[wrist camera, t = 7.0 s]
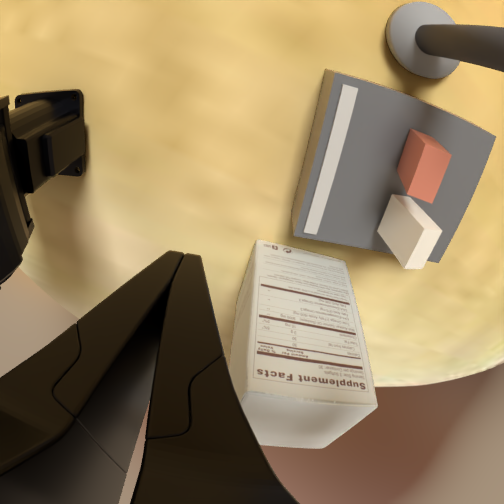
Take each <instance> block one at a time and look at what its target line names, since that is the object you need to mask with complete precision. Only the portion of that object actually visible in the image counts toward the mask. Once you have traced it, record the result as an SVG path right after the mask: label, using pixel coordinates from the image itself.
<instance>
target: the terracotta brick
mask: <svg viewBox="0 0 504 504" xmlns="http://www.w3.org/2000/svg"><path fill="white" fill-rule="evenodd" d="M451 156H452V155H451V154H450V153H449V152H448V151H447V150H446V149H445V148H444V147H443V146H442V145H441V144H440V143H439V142H437V141H436V140H435V139H434V138H433V137H431V136H429V135H426V134H424V133H421V132H419V131H416V130H414V129H411V128H410V131H409V134H408V138H407V141H406V144H405V147H404V150H403V153H402V156H401V159H400V161H399V164H398V167H397V172H398V174H399V177H400V179H401V181H402V184H403V186H404V188H405V191H406V193H407V194H408V195H410V196H413V197H416V198H418V199H421V200H424V201H426V202H429V203H431V204H432V203H433V201H434V198H435V196H436V194H437V191H438V189H439V186H440V184H441V182H442V179H443V177H444V174H445V172H446V169H447V166H448V164H449V161H450V158H451Z"/></svg>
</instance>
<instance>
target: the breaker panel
mask: <svg viewBox="0 0 504 504" xmlns="http://www.w3.org/2000/svg"><path fill="white" fill-rule="evenodd" d="M410 128H411V129H414V130H416V131H419V132H421V133H424V134H426V135H429V136H431V137H433V138H434V139H435V140H436V141H437V142H439V143H440V144H441V145H442V146H443V147H444V148H445V149H446V150H447V151H448V152H449V153H450V154H451V155H452V156H451V158H450V161H449V164H448V166H447V169H446V172H445V174H444V177H443V179H442V182H441V184H440V186H439V189H438V191H437V194H436V196H435V198H434V201H433V203H432V204H431V203H429V202H426V201H424V200H421V199H418V198H416V197H413V196H410V195H408V194H407V193H406V191H405V188H404V186H403V184H402V181H401V179H400V177H399V174H398V172H397V167H398V164H399V161H400V159H401V156H402V153H403V150H404V147H405V144H406V141H407V138H408V134H409V131H410ZM495 138H496V136H494V135H492V134H491V133H489V132H487V131H486V130H484V129H482V128H480V127H479V126H477V125H475V124H473V123H471V122H469V121H467V120H465V119H463V118H461V117H459V116H457V115H455V114H453V113H451V112H448V111H446V110H444V109H442V108H440V107H437V106H435V105H433V104H430V103H428V102H425V101H423V100H421V99H418V98H416V97H413V96H410V95H408V94H405V93H402V92H400V91H397V90H394V89H391V88H389V87H386V86H383V85H380V84H377V83H374V82H370V81H367V80H364V79H361V78H357V77H354V76H351V75H347V74H343V73H340V72H336V71H332V70H328V69H325V74H324V78H323V83H322V87H321V92H320V96H319V101H318V105H317V109H316V114H315V118H314V122H313V126H312V131H311V135H310V139H309V143H308V147H307V151H306V156H305V160H304V164H303V168H302V172H301V176H300V180H299V184H298V188H297V192H296V196H295V200H294V204H293V208H292V224H293V235H294V236H297V237H302V238H308V239H314V240H319V241H325V242H331V243H336V244H342V245H347V246H353V247H358V248H363V249H369V250H374V251H379V252H385V253H390V254H393V252H392V251H391V250H390V248H389V247H388V245H387V244H386V243H385V241H384V240H383V238H382V237H381V236H380V234H379V233H378V232H377V230H378V228H379V225H380V223H381V220H382V218H383V216H384V213H385V211H386V208H387V206H388V203H389V201H390V198H391V195H392V194H395V195H401V196H407V197H410V198H411V199H412V200H413V201H414V202H415V203H416V204H417V205H418V206H419V207H420V208H421V209H422V210H423V211H424V212H425V213H426V214H427V215H428V216H429V217H430V218H431V219H432V220H433V221H434V222H435V223H436V225H437V226H438V227H439V228H440V229H441V230H442V233H441V235H440V236H439V238H438V240H437V242H436V244H435V246H434V248H433V250H432V252H431V254H430V256H429V257H428V259H427V261H431V262H436V263H439V261H440V260H441V258H442V256H443V254H444V252H445V250H446V249H447V247H448V245H449V243H450V241H451V239H452V237H453V235H454V233H455V232H456V230H457V228H458V226H459V224H460V222H461V220H462V217H463V215H464V213H465V211H466V209H467V207H468V205H469V203H470V200H471V198H472V196H473V194H474V192H475V189H476V187H477V185H478V182H479V180H480V178H481V175H482V173H483V170H484V168H485V165H486V163H487V160H488V157H489V155H490V152H491V149H492V147H493V144H494V141H495Z"/></svg>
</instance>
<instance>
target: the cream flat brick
mask: <svg viewBox="0 0 504 504" xmlns="http://www.w3.org/2000/svg"><path fill="white" fill-rule="evenodd" d="M377 232H378V233H379V234H380V236H381V237H382V238H383V240H384V241H385V243H386V244H387V245H388V247H389V248H390V250H391V251H392V252H393V254H394V255H395V257H396V258H397V259H398V261H399V262H400V264H401V265H402V267H403V268H404V269H422V268H423V267H424V265H425V263H426V261H427V259H428V257H429V256H430V254H431V252H432V250H433V248H434V246H435V244H436V242H437V240H438V238H439V236H440V235H441V233H442V230H441V229H440V228H439V227H438V226H437V225H436V223H435V222H434V221H433V220H432V219H431V218H430V217H429V216H428V215H427V214H426V213H425V212H424V211H423V210H422V209H421V208H420V207H419V206H418V205H417V204H416V203H415V202H414V201H413V200H412V199H411V198H410V197H407V196H401V195H395V194H392V195H391V198H390V201H389V203H388V206H387V208H386V211H385V213H384V216H383V218H382V220H381V223H380V225H379V228H378V230H377Z"/></svg>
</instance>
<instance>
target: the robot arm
mask: <svg viewBox="0 0 504 504" xmlns="http://www.w3.org/2000/svg"><path fill="white" fill-rule="evenodd" d="M74 94H76V96H77V99H75V98H74ZM20 99H21V102H20ZM9 104H10V103H9V95H8V96H4V97H1V98H0V285H1V284H2V283H4V282H5V281H6V280H7V279H8V278H9V277H10V276H11V275H12V274H13V272H14V271H15V270H16V269H17V268H18V266H19V265H20V264H21V262H22V260H23V258H22V254H23V251H24V249H25V247H26V245H27V243H28V240H29V237H30V235H31V233H32V231H33V229H34V223H33V220H32V218H30V214H29V211H28V207H27V203H26V200H25V196H26V195H28V194H29V193H34V192H35V191H36V190H37V189H38V188H39V187H41V186H42V185H43V184H44V183H45V182H47V181H48V180H49V179H50V178H51V177H55V176H56V175H57V174H58V175H69V176H81V175H82V174H83V173H84V172H85V156H84V153H85V136H84V119H83V95H82V92H81V91H80V90H79V89H71V90H56V91H44V92H35V93H26V94H21V95H18V96H17V97H16V98H15V109H14V110H11V111H9V109H8V105H9ZM77 167H79V169H80V171H79V170H78V169H77ZM0 289H1V287H0ZM149 401H150V405H149V411H148V419H147V427H146V435H145V439H146V441H145V444H144V453H143V458H142V463H141V468H140V472H139V475H138V478H137V482H136V486H135V489H134V492H133V496H132V499H131V502H130V504H300V503H299V502H298V501H297V500H296V499H295V498H294V497H293V496H292V495H291V494H290V493H289V491H288V490H287V489H286V488H285V487H284V486H283V484H282V483H281V482H280V480H279V479H278V477H277V476H276V474H275V473H274V471H273V469H272V468H271V466H270V464H269V462H268V460H267V459H266V457H265V455H264V453H263V451H262V449H261V447H260V444H259V442H258V440H257V438H256V436H255V434H254V432H253V430H252V428H251V426H250V424H249V422H248V420H247V417H246V415H245V413H244V411H243V409H242V406H241V404H240V401H239V399H238V396H237V394H236V391H235V389H234V385H233V382H232V379H231V376H230V373H229V369H228V365H227V362H226V358H225V357H224V351H223V347H222V343H221V339H220V335H219V331H218V327H217V323H216V319H215V315H214V311H213V306H212V302H211V298H210V294H209V289H208V285H207V281H206V276H205V272H204V267H203V263H202V258H201V256H200V255H195V254H189V253H187V254H185V255H184V253H183V252H177V251H168V252H166V253H165V254H163V255H162V256H161V257H159V258H158V259H157V260H155V261H154V262H153V263H151V264H150V265H149V266H147V267H146V268H145V269H143V270H142V271H141V272H139V273H138V274H137V275H135V276H134V277H133V278H132V279H130V280H129V281H128V282H126V283H125V284H124V285H122V286H121V287H120V288H119V289H117V290H116V291H115V292H113V293H112V294H111V295H110V296H108V297H107V298H106V299H104V300H103V301H102V302H101V303H99V304H98V305H97V306H96V307H94V308H93V309H92V310H91V311H89V312H88V313H87V314H86V315H84V316H83V317H82V318H81V319H79V320H78V321H77V324H73V325H72V326H71V327H70V328H68V329H67V330H66V331H65V332H63V333H62V334H61V335H59V336H58V337H57V338H56V339H54V340H53V341H52V342H51V343H49V344H48V345H47V346H45V347H44V348H42V349H41V350H40V351H38V352H37V353H35V354H34V355H33V356H31V357H30V358H28V359H27V360H25V361H24V362H22V363H21V364H19V365H18V366H16V367H15V368H14V369H12V370H11V371H9V372H8V373H6V374H5V375H4V376H2V377H1V378H0V504H118V503H119V499H120V496H121V493H122V489H123V486H124V482H125V478H126V473H127V471H128V468H129V464H130V461H131V458H132V454H133V451H134V448H135V444H136V441H137V438H138V435H139V432H140V428H141V425H142V422H143V419H144V416H145V413H146V409H147V407H148V404H149Z"/></svg>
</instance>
